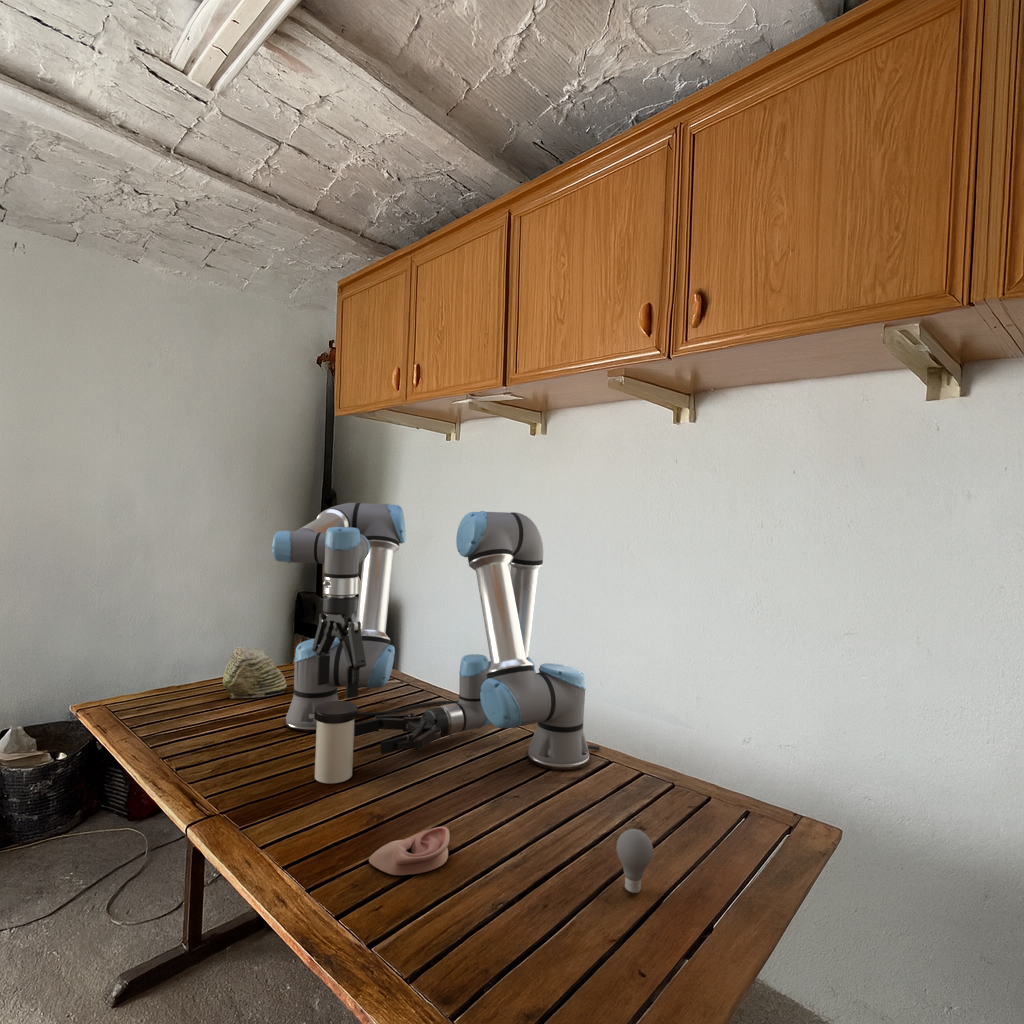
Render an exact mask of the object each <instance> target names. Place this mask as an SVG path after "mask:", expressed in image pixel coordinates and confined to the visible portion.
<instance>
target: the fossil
mask: <svg viewBox="0 0 1024 1024" xmlns="http://www.w3.org/2000/svg"><path fill="white" fill-rule="evenodd" d="M222 676H223V677H222V685H223V687H224V688H225V690H226V691H228V693H229V698H230V699H250V698H264V697H271V696H275V695H281V694H284V693H285V691H286V689H287V687H288V686H287V680H286V678H285V676H284V674H283V673H282V672H281V669H279V668H278V667H277V665H276V663H275V662H274V660H273V659H272V658H271V657H270V656H269V655H268V654H267V653H266V652H265V650H264V649H263V648H260V647H258V648H251V647H247V646H246V647H245V646H238V647H237V648H236V649H235V650H233V651H232V653H231V656H230V657H229V659H228V660H227V663H226V666H225V668H224V671H223V675H222Z"/></svg>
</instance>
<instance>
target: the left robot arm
mask: <svg viewBox="0 0 1024 1024" xmlns="http://www.w3.org/2000/svg"><path fill="white" fill-rule="evenodd" d="M404 514H405V513H404V510H403V508H402V507H401V506H400V505H399V504H392V503H391V504H389V503H372V502H371V503H370V502H368V503H367V502H346V503H341V504H338V505H334V506H331V507H329V508H326V509H325V510H322V512H321V511H320V513H319V514H318V515H317V516H316V519H314V520H313V521H311V522H309V523H307V524H306V525H304V526H302V527H300V528H299V529H297V530H278V531H277V532H275V534H274V536H273V538H272V544H271V553H272V557H273V559H274V560H275V561H276V562H281V563H287V564H291V563H296V564H324V572H323V573H324V578H323V579H324V580H323V583H322V585H323V594H324V597H322V613H319V616H318V618H319V619H318V625H317V629H316V632H315V637H314V638H311V639H307V640H304V641H302V642H300V643H298V644H297V645H296V648H295V655H294V660H293V662H294V672H293V673H294V674H293V695H292V696H293V697H292V699H291V702H290V704H289V708H288V711H287V713H286V715H285V726H286V728H287V729H289V730H291V731H294V732H295V731H296V732H301V733H316V723H317V720H315V718H314V711H315V707H316V706H317V705H319V704H321V703H325V702H330V701H340V699H339V695H338V687H339V688H345V695H344V697H345V699H347V700H348V699H353V698H357V697H359V688H366V689H375V688H377V689H378V688H383V687H385V686H386V685H387V684H388V682H389V680H390V677H391V675H392V670H393V668H394V667H393V666H394V661H395V653H396V650H395V649H396V648H395V646H394V645H393V644H391V638H390V637H389V636H388V635H387V633H386V632H387V631H386V630H387V621H388V613H389V612H388V611H389V601H390V591H391V580H392V571H393V570H392V569H393V560H394V554H395V553H396V552H398V551H399V549H400V544H405V542H406V523H405V515H404ZM361 563H362V567H361V575H360V583H359V569H360V567H359V566H360V565H359V564H361ZM359 584H360V585H359ZM356 595H358V596H356ZM354 614H356V617H355V621H354V620H353V615H354ZM458 702H459V700H440V701H439V700H438V701H429V702H421V703H416V704H411V705H408V706H407V705H406V706H404V707H399V708H396V709H390V710H384V711H375V712H373V711H372V712H360V711H357V716H364V717H365V716H367V717H368V716H376V715H390V714H395V713H399V712H403V711H406V710H409V709H414V708H418V707H419V708H420V707H425V706H432V705H433V706H435V705H448V704H453V703H458Z"/></svg>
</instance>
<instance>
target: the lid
mask: <svg viewBox="0 0 1024 1024" xmlns="http://www.w3.org/2000/svg"><path fill="white" fill-rule="evenodd" d="M358 711H359V710H358V704H356V703H354V702H351V701H346V700H339V701H330V702H325V703H321V704H319V705H317V706H316V707H315V711H314V718H315V720H317V721H319V722H322V723H328V724H338V723H345V722H349V721H352V720H354V719H355V720H356V719H357V717H358V715H357V712H358Z"/></svg>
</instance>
